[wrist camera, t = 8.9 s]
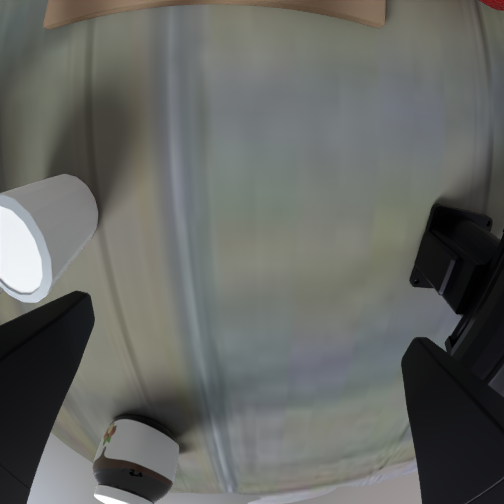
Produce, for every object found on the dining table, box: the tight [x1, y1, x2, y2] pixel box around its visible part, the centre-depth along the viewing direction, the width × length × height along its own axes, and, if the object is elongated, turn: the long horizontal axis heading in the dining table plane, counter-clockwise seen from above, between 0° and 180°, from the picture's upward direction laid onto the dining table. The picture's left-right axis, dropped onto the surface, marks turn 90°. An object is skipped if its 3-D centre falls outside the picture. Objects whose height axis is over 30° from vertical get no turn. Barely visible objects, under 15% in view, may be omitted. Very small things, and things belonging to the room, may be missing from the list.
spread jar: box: [93, 415, 179, 504], centre depth 27 cm, size 12×11×12 cm
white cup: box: [0, 174, 98, 303], centre depth 16 cm, size 7×7×7 cm
